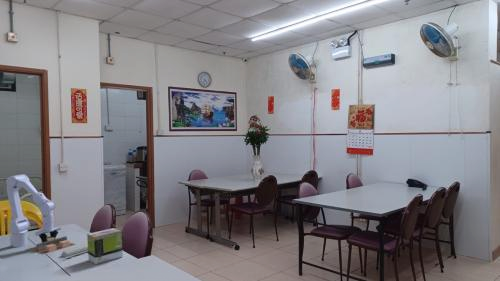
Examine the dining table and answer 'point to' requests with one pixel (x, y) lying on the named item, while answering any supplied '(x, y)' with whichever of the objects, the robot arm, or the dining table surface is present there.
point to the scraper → (50, 242)
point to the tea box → (104, 245)
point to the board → (46, 251)
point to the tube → (75, 251)
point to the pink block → (50, 248)
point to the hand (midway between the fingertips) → (48, 244)
